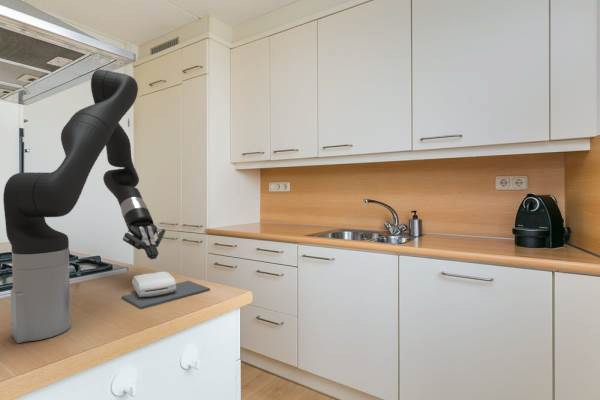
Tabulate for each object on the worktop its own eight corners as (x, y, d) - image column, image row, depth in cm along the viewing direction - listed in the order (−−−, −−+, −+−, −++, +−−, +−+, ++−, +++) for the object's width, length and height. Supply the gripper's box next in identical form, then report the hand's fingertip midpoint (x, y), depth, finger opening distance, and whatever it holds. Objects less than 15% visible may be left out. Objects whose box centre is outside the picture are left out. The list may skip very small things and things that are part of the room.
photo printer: (168, 269, 101) (178, 278, 90) (169, 283, 101) (178, 294, 91) (131, 274, 95) (137, 285, 85) (132, 289, 95) (137, 301, 85)
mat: (140, 309, 81) (140, 306, 81) (121, 298, 89) (121, 296, 89) (210, 290, 96) (210, 288, 96) (188, 282, 104) (188, 280, 104)
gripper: (117, 207, 98) (135, 253, 91) (160, 205, 108) (179, 246, 101) (111, 223, 102) (127, 269, 94) (153, 220, 112) (171, 261, 104)
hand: (154, 257), depth 97 cm, fingers closed
